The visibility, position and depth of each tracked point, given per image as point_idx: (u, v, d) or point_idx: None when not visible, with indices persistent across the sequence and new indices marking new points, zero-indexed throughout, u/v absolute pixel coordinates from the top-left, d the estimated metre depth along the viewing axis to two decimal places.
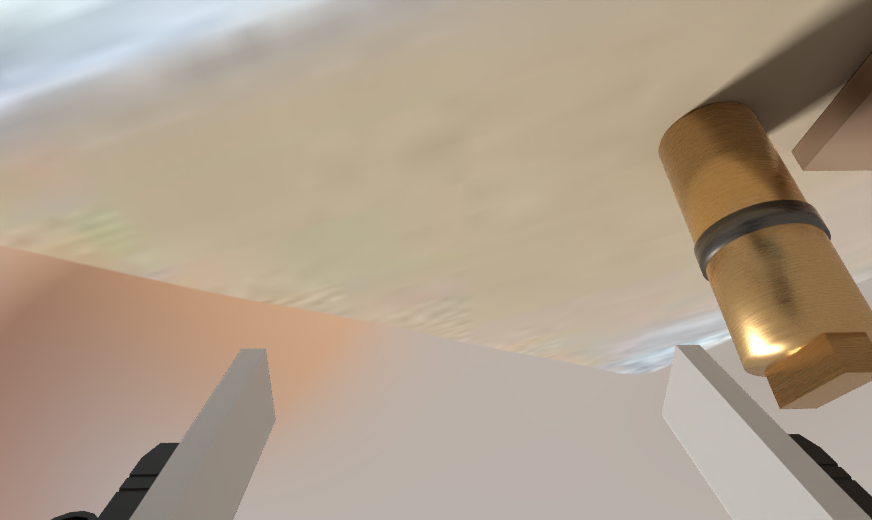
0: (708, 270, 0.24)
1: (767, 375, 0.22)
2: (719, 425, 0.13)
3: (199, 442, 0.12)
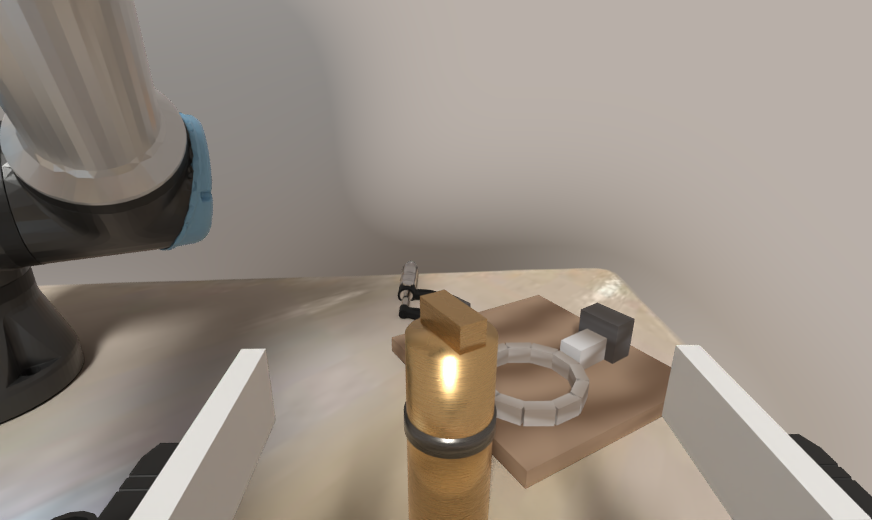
0: (419, 425, 0.27)
1: (458, 351, 0.25)
2: (719, 425, 0.13)
3: (199, 442, 0.12)
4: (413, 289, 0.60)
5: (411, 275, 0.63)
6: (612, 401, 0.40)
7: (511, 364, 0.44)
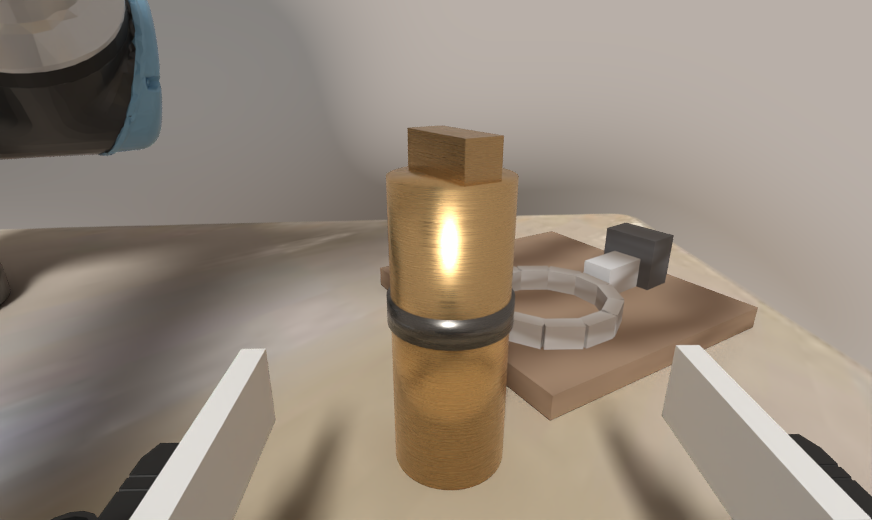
0: (407, 305, 0.19)
1: (462, 181, 0.17)
2: (718, 425, 0.13)
3: (199, 442, 0.12)
4: None
5: None
6: (653, 324, 0.32)
7: (524, 291, 0.36)
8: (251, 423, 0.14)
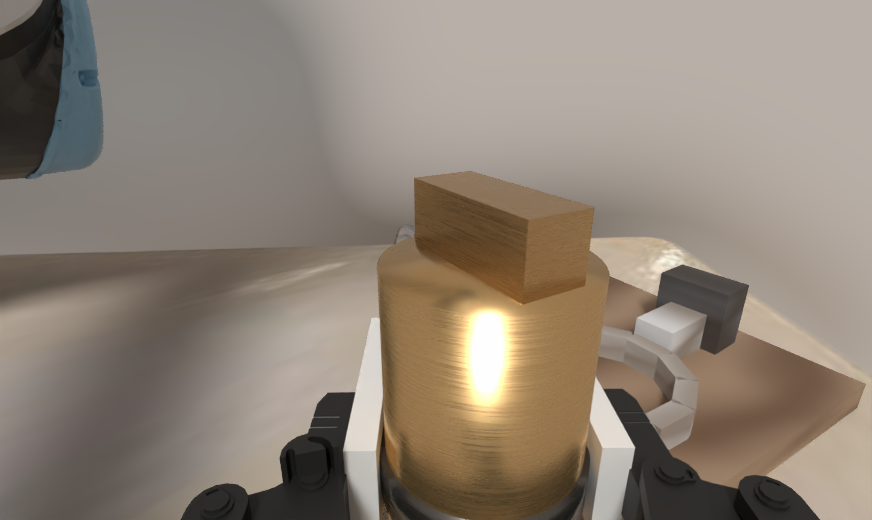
0: (413, 486, 0.11)
1: (518, 294, 0.09)
2: None
3: (372, 388, 0.14)
4: None
5: (407, 238, 0.48)
6: (736, 414, 0.24)
7: None
8: None
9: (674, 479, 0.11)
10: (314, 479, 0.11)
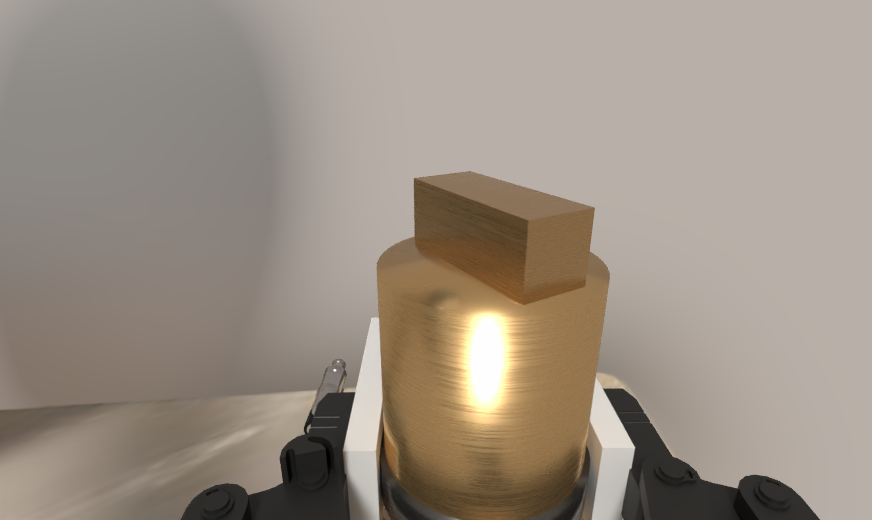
0: (413, 487, 0.11)
1: (518, 295, 0.09)
2: None
3: (372, 388, 0.14)
4: None
5: (330, 391, 0.44)
6: None
7: None
8: None
9: (674, 479, 0.11)
10: (314, 479, 0.11)
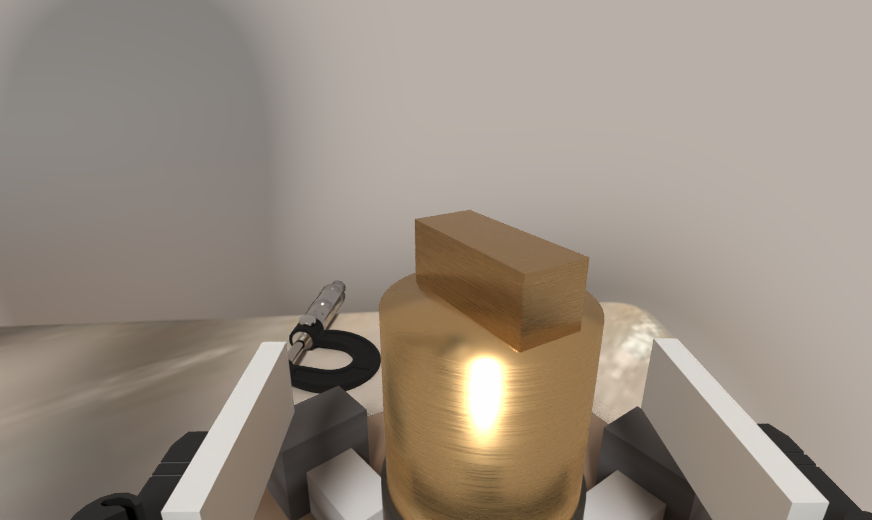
0: None
1: (515, 343, 0.09)
2: (692, 415, 0.14)
3: (228, 430, 0.12)
4: (315, 330, 0.37)
5: (323, 305, 0.40)
6: None
7: None
8: (273, 413, 0.15)
9: None
10: None
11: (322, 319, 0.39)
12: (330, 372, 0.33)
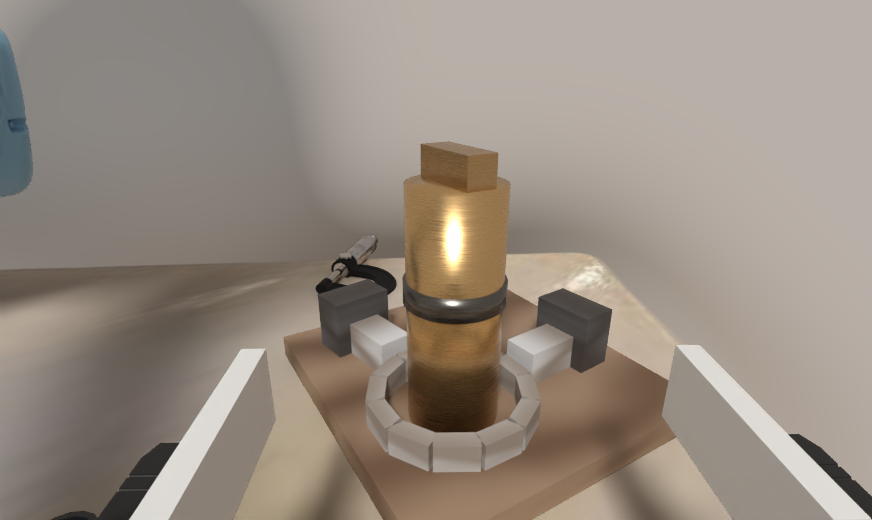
0: (420, 287, 0.23)
1: (465, 189, 0.21)
2: (718, 425, 0.13)
3: (199, 442, 0.12)
4: (350, 263, 0.50)
5: (358, 248, 0.53)
6: (575, 430, 0.27)
7: None
8: (251, 423, 0.14)
9: None
10: None
11: (356, 257, 0.52)
12: None
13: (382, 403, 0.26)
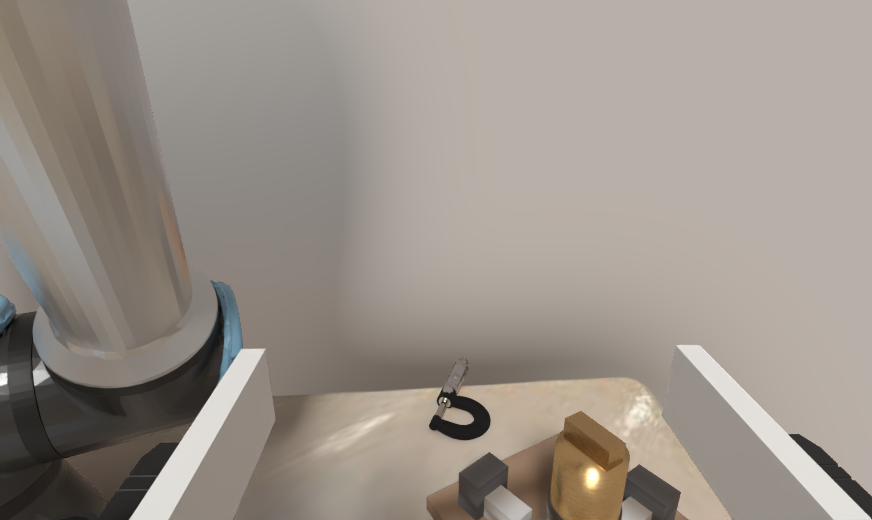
0: (568, 519, 0.35)
1: (605, 469, 0.33)
2: (718, 425, 0.13)
3: (199, 442, 0.12)
4: (452, 396, 0.62)
5: (456, 378, 0.65)
6: None
7: None
8: (251, 423, 0.14)
9: None
10: None
11: (455, 388, 0.64)
12: (462, 427, 0.58)
13: None
